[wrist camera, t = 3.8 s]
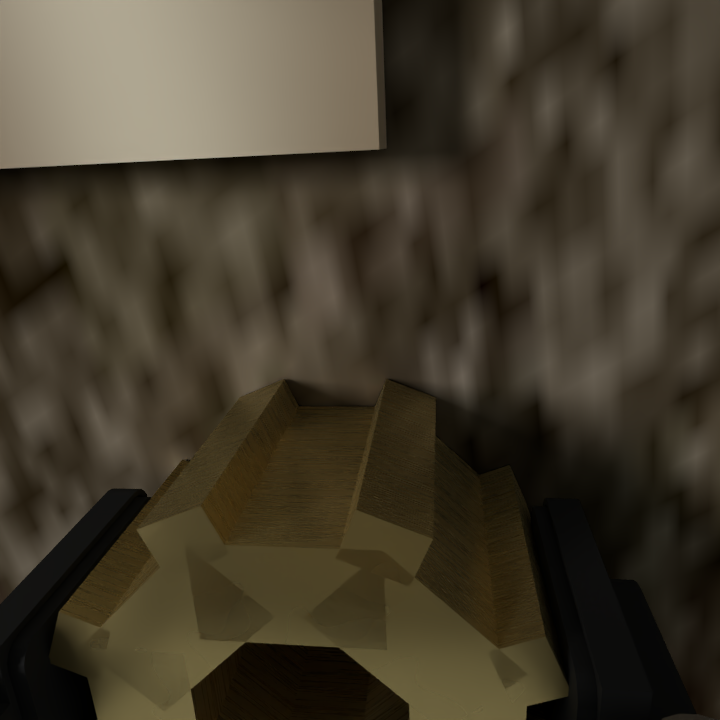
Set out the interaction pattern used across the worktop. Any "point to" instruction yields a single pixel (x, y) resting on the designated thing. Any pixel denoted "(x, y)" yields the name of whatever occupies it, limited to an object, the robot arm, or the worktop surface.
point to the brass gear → (320, 579)
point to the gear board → (188, 79)
